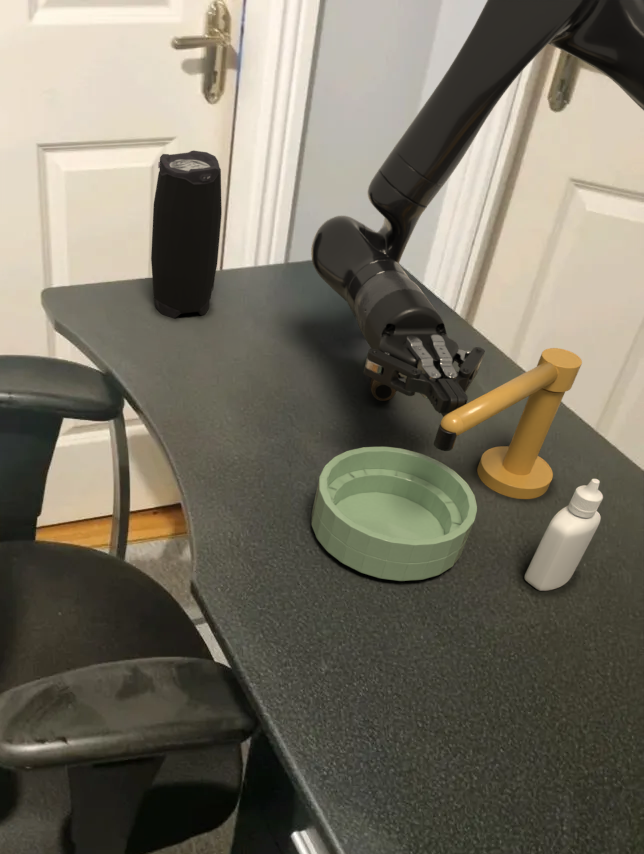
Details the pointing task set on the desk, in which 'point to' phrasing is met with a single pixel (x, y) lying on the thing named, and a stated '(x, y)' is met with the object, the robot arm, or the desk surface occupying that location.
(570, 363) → the spout
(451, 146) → the robot arm
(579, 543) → the eye dropper bottle
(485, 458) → the tap base
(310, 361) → the desk surface
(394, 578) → the basin
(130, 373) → the desk surface
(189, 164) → the portable speaker
